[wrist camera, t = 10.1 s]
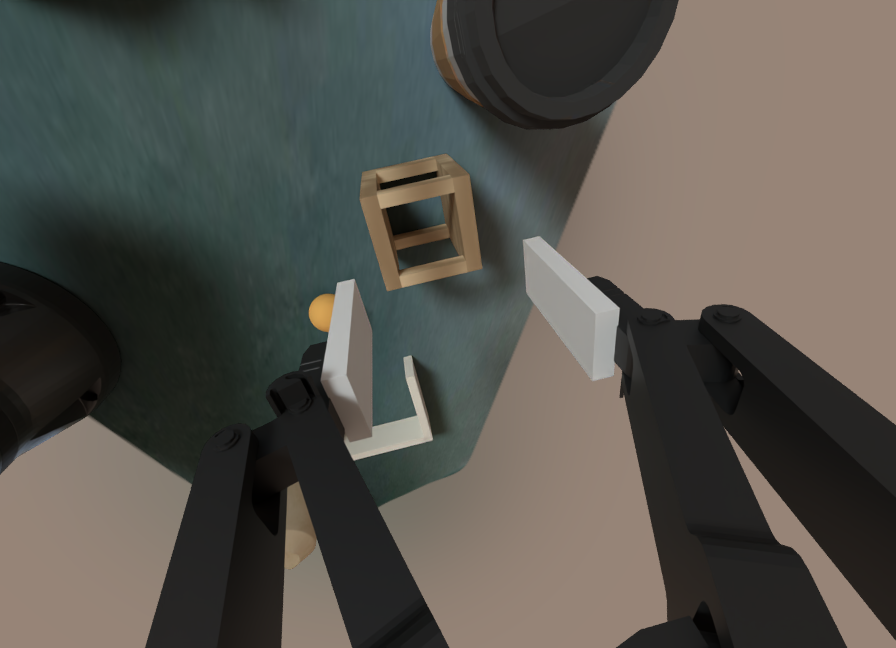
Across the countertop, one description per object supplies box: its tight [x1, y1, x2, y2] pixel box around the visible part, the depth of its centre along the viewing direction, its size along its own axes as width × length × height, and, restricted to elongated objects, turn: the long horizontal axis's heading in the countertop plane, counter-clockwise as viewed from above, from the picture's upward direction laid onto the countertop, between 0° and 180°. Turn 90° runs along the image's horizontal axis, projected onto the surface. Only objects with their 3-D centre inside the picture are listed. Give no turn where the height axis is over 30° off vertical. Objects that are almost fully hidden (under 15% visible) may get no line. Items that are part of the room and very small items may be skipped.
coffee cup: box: [430, 0, 678, 129], centre depth 19 cm, size 8×8×15 cm
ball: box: [309, 294, 335, 332], centre depth 32 cm, size 3×3×3 cm
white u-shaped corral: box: [344, 356, 433, 460], centre depth 39 cm, size 11×9×3 cm
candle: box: [284, 482, 317, 569], centre depth 39 cm, size 6×6×10 cm
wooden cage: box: [360, 154, 482, 291], centre depth 27 cm, size 6×6×8 cm
